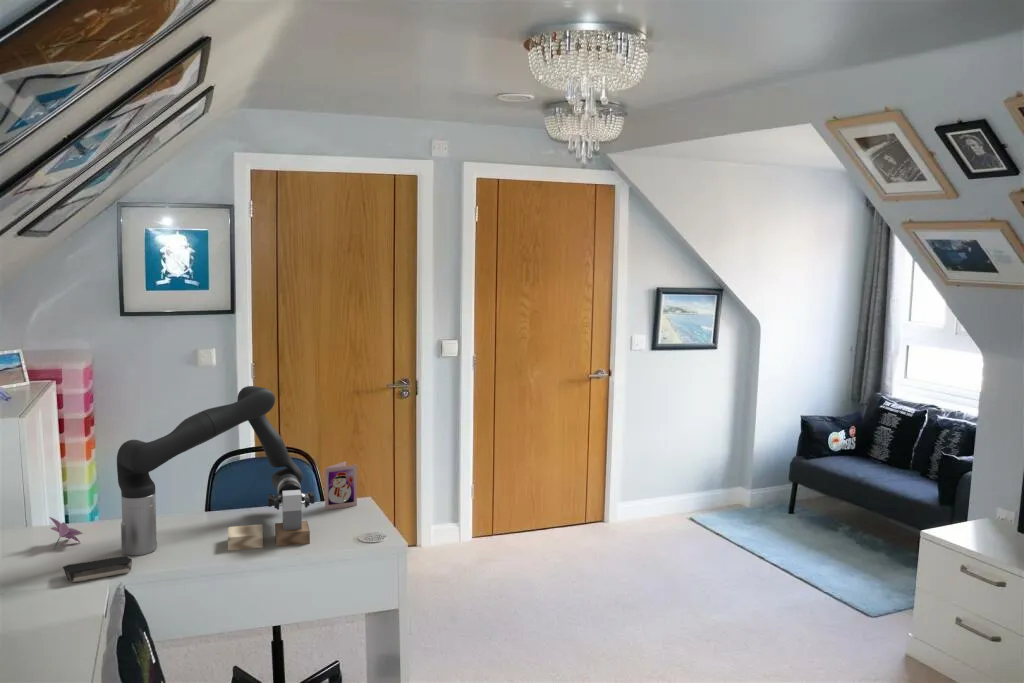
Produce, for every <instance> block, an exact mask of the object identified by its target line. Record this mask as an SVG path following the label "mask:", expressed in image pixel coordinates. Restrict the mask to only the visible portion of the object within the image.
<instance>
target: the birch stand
mask: <svg viewBox="0 0 1024 683" xmlns="http://www.w3.org/2000/svg"><path fill="white" fill-rule="evenodd" d="M227 531H228V532H227V551H237V550H238V551H239V550H247V549H249V550H250V549H259V548H264V546H263V545H264V544H263V542H264V540H263V538H264V536H263V534H264V533H263V524H253V525H252V524H251V525H249V524H248V525H239V526H238V525H237V526H229V527H228V529H227Z"/></svg>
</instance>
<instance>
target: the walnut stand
mask: <svg viewBox="0 0 1024 683" xmlns="http://www.w3.org/2000/svg"><path fill="white" fill-rule="evenodd" d="M274 534H275V535H274V537H275V546H276V547H283V546H295V545H306V544H310V543H311V539H310V538H311V536H310V535H311V530H310V526H309V523H308V520H302V529H295V530H283V522H275V523H274Z"/></svg>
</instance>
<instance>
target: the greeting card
mask: <svg viewBox="0 0 1024 683" xmlns="http://www.w3.org/2000/svg"><path fill="white" fill-rule="evenodd" d="M357 466H358V464H352V465H351V464H350V465H347V460H345V461H342V462H339V463H336V464H333V465H329V466H326V467H325V468H324V475H325V476H324V484H325V485H324V487H325V488H324V490H325V492H324V496H325V497H324V502H325V503H324V505H325V506H324V510H333V509H339V508H348V507H354V506H355V507H356V506H358V502H357V501H358V467H357ZM344 500H346V501H344Z"/></svg>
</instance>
